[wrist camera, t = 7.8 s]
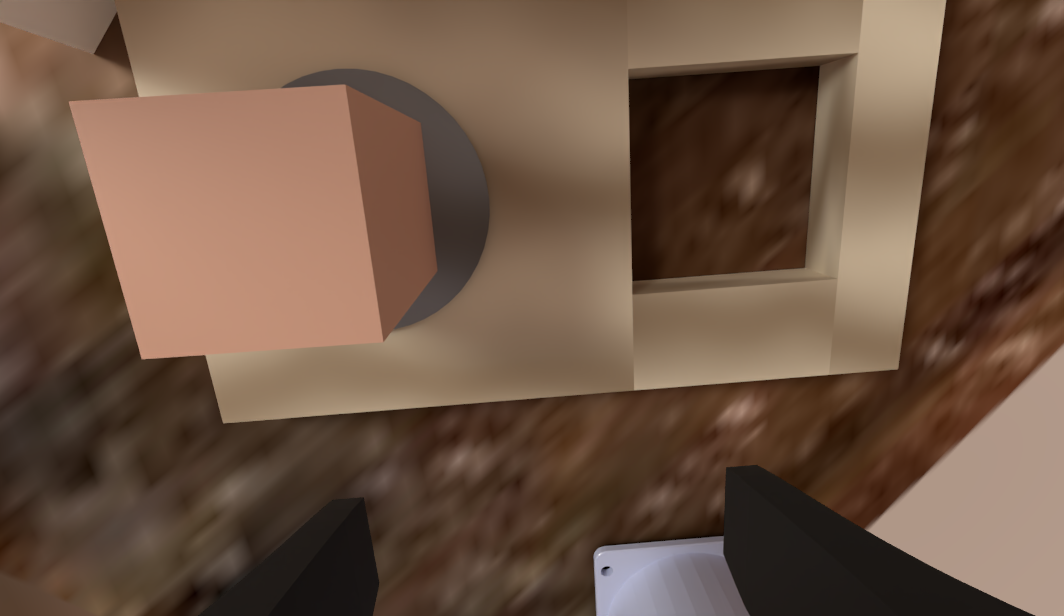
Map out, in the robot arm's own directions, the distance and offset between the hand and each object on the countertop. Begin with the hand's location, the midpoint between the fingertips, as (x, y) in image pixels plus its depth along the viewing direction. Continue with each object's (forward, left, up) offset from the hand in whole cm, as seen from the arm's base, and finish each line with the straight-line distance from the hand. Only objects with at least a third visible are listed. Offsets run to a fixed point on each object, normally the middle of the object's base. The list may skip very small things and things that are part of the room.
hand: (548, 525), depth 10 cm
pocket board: (+6, -1, -10) cm, 12 cm away
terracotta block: (+6, +5, -8) cm, 11 cm away
